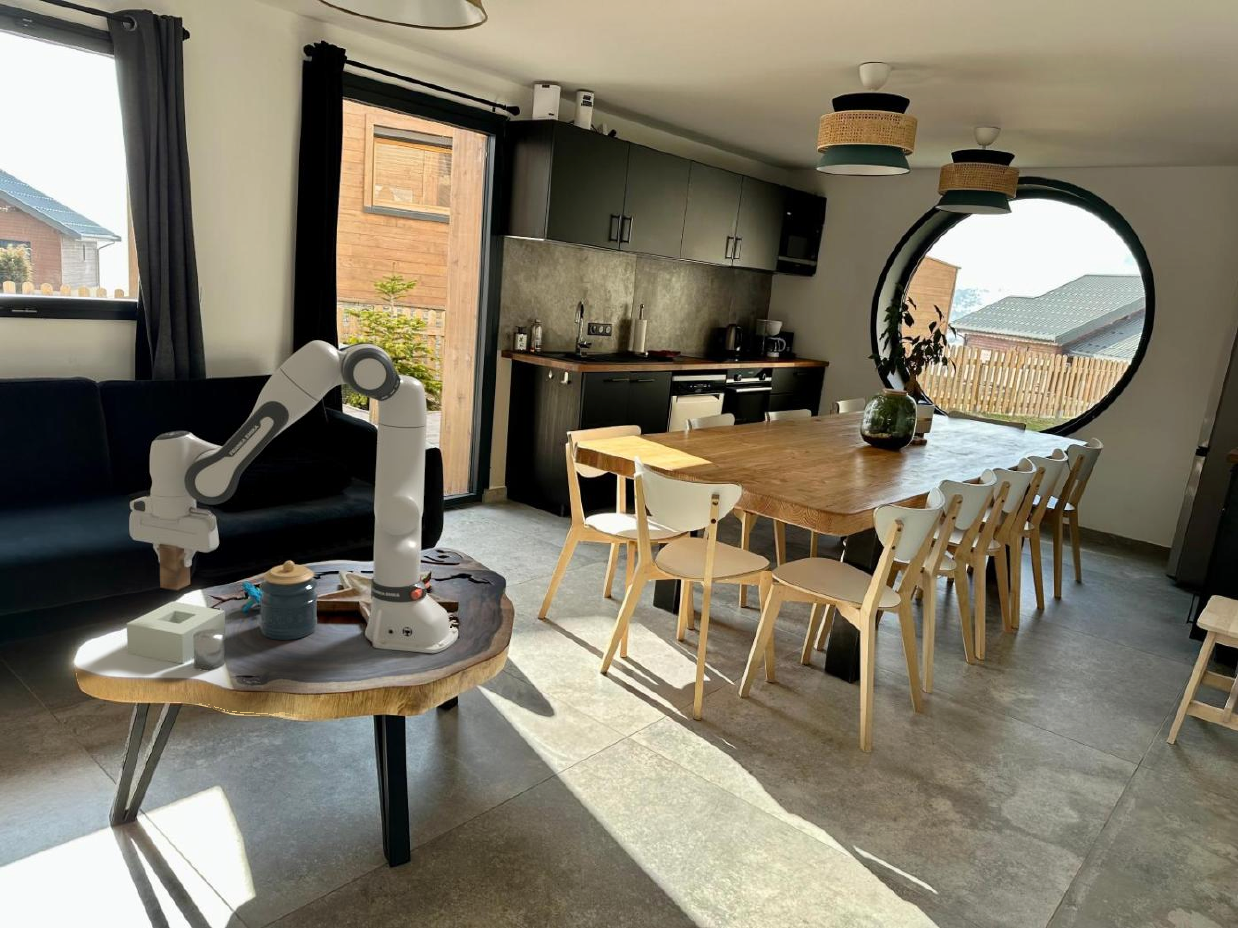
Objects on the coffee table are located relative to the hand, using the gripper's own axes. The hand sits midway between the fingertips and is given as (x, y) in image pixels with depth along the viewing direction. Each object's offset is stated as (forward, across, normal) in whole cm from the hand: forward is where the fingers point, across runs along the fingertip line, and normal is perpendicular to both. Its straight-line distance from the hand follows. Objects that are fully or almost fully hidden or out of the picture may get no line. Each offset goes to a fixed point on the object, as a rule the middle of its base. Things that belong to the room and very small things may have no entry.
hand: (175, 564), depth 188 cm
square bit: (+5, 0, 0) cm, 5 cm away
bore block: (+20, 0, 0) cm, 20 cm away
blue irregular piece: (+20, -3, -25) cm, 32 cm away
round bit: (+20, -12, +5) cm, 24 cm away
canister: (+20, -17, -17) cm, 31 cm away
